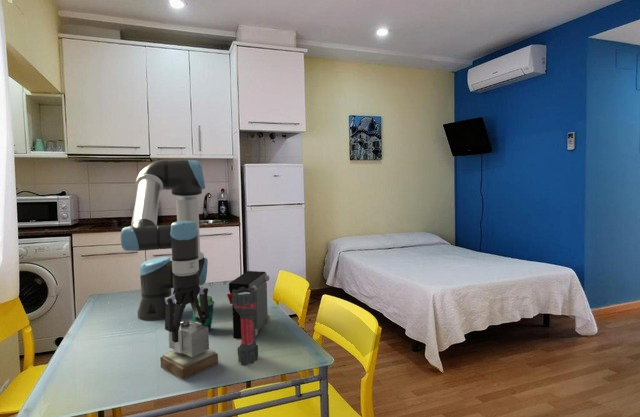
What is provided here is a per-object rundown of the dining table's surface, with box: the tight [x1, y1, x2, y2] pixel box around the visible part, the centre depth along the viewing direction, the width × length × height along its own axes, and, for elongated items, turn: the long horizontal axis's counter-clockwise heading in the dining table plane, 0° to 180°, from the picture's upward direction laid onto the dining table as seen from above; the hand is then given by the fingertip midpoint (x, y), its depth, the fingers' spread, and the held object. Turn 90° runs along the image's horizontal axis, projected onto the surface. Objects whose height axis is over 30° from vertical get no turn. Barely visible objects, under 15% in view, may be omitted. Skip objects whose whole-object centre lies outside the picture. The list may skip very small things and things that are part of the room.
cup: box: [192, 295, 215, 333], centre depth 143 cm, size 8×8×12 cm
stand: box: [160, 347, 219, 381], centre depth 116 cm, size 12×12×4 cm
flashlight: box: [231, 287, 259, 366], centre depth 117 cm, size 8×8×23 cm
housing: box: [168, 319, 210, 357], centre depth 115 cm, size 6×11×8 cm, turn 56°
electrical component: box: [226, 270, 271, 340], centre depth 142 cm, size 18×10×20 cm, turn 168°
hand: (189, 347), depth 116 cm, fingers closed on housing, 6 cm apart
